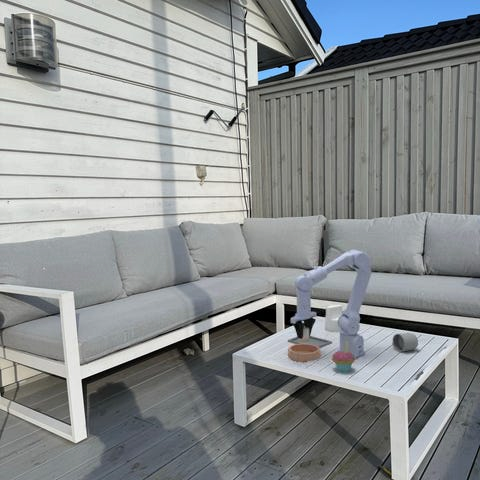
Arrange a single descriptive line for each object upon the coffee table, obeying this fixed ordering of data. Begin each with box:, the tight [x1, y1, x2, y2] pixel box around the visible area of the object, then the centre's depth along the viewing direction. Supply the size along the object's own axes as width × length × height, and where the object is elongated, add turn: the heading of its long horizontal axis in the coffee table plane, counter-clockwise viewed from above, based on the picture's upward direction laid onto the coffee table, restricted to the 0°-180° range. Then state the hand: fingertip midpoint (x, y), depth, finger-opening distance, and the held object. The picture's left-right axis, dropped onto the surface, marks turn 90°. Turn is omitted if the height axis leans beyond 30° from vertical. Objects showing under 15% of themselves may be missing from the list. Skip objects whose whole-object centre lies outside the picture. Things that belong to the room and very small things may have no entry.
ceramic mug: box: [391, 332, 419, 353], centre depth 194 cm, size 11×8×8 cm
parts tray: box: [287, 335, 333, 349], centre depth 205 cm, size 16×12×1 cm
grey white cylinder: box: [324, 304, 343, 333], centre depth 225 cm, size 9×9×12 cm
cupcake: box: [331, 342, 356, 373], centre depth 172 cm, size 9×8×12 cm
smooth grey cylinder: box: [298, 326, 309, 342], centre depth 187 cm, size 5×5×5 cm
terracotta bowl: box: [287, 343, 321, 363], centre depth 188 cm, size 13×13×4 cm
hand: (304, 336), depth 187 cm, fingers closed on smooth grey cylinder, 5 cm apart
